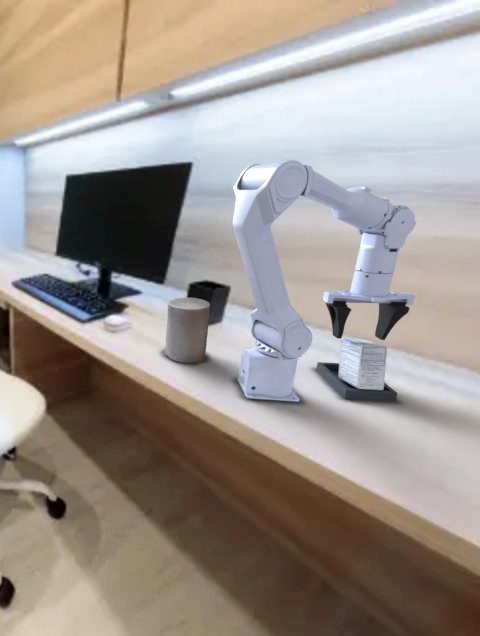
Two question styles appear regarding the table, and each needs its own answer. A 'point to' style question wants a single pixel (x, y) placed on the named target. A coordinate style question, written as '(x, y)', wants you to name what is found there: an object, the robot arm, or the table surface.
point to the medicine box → (363, 363)
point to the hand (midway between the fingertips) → (358, 337)
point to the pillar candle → (187, 329)
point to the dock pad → (351, 392)
